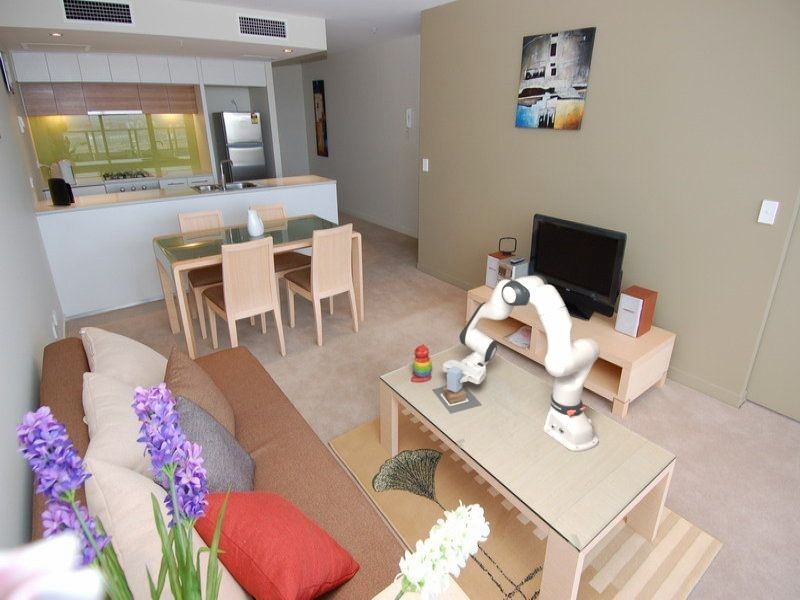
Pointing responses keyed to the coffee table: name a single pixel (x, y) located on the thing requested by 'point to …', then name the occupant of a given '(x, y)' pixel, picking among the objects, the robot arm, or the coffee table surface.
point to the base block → (454, 395)
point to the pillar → (454, 379)
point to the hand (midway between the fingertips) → (453, 379)
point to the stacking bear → (421, 365)
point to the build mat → (459, 406)
